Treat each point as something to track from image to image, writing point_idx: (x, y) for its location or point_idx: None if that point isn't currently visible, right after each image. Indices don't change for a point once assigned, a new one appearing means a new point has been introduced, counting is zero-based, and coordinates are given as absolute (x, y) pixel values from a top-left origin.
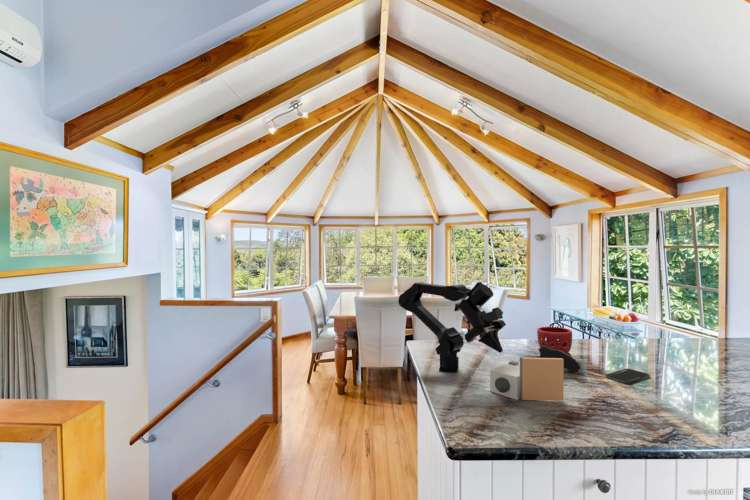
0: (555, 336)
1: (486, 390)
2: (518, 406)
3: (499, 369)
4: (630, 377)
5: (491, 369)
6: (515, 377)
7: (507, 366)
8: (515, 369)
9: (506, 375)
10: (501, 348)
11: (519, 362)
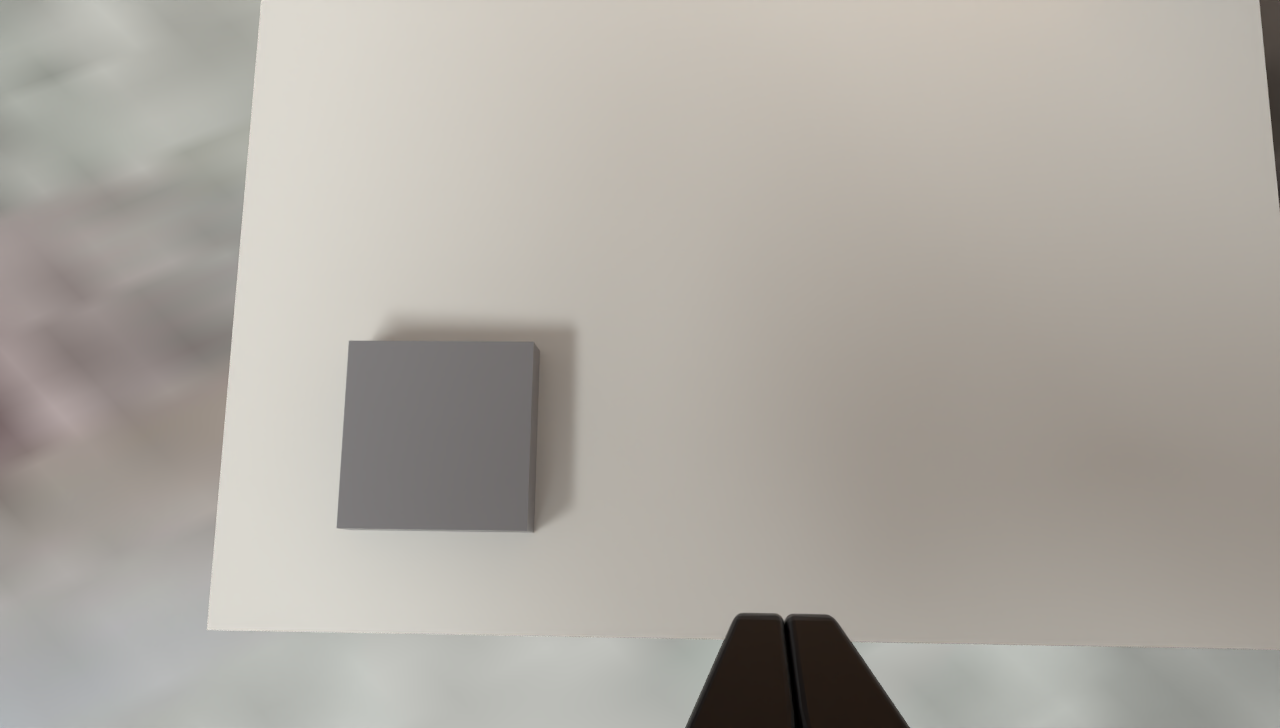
0: None
1: (1127, 689)
2: (1266, 58)
3: (1115, 487)
4: None
5: (1275, 636)
6: (1251, 21)
7: (755, 452)
8: (817, 219)
9: (1268, 223)
10: (771, 664)
11: (251, 381)
